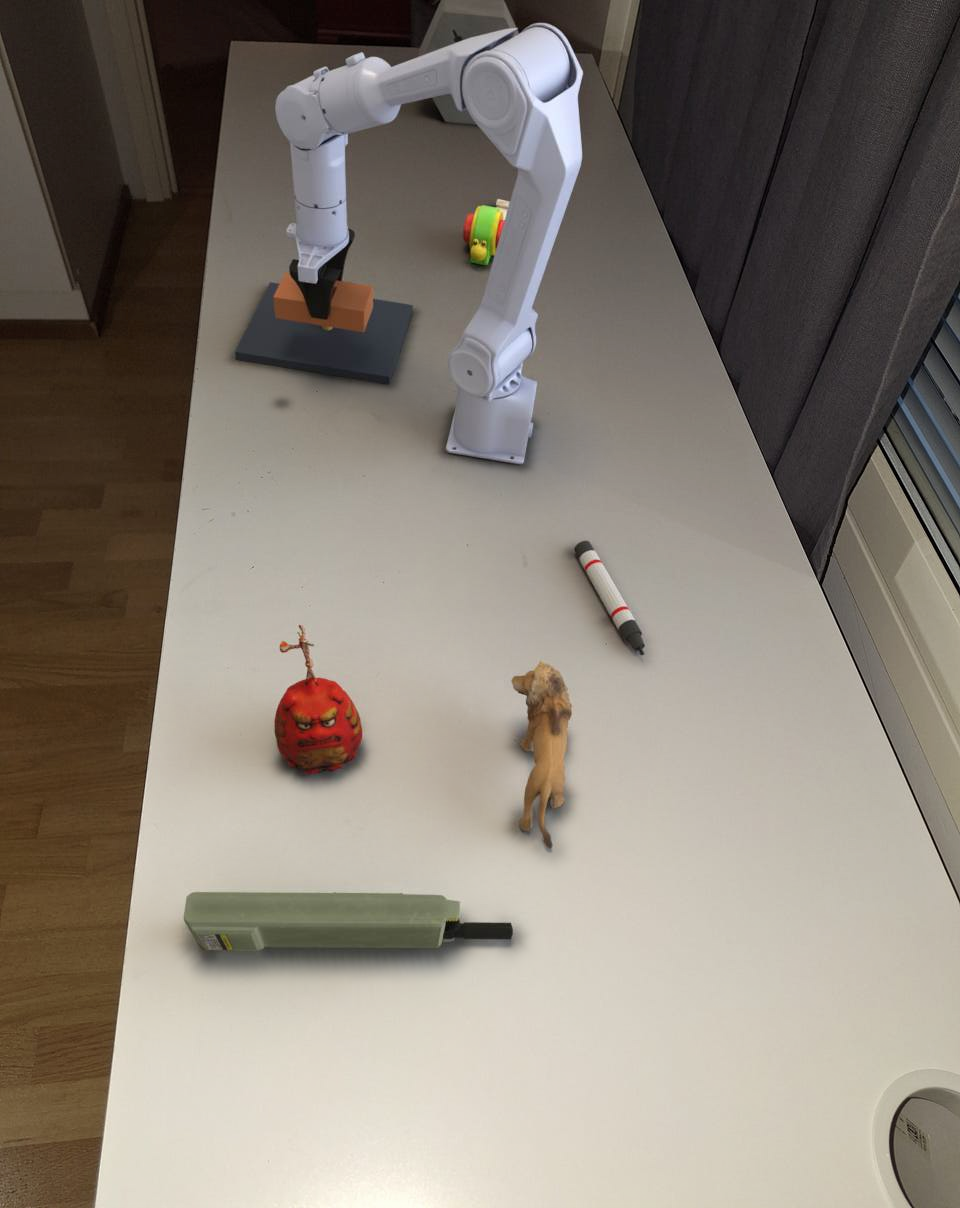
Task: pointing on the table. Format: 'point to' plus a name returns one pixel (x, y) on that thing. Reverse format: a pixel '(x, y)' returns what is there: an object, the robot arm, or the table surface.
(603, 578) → the marker
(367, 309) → the orange brown rectangular block
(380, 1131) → the table surface
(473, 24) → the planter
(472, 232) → the toy measuring tape
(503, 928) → the handheld radio
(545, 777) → the lion figurine
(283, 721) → the red clay folk toy
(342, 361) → the dark gray base plate
